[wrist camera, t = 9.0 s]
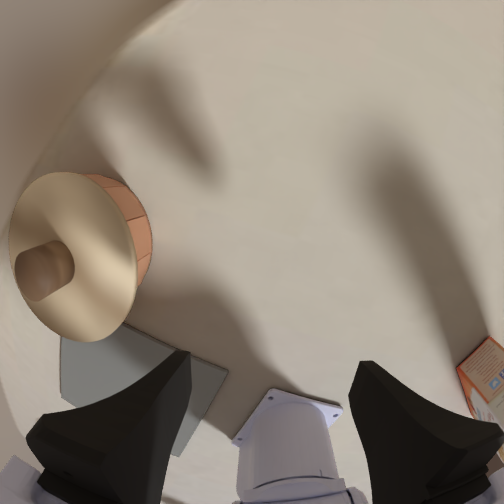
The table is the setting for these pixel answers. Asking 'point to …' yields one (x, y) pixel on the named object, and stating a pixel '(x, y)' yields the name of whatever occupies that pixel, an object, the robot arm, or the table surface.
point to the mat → (131, 373)
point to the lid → (73, 256)
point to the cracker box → (485, 384)
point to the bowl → (130, 219)
